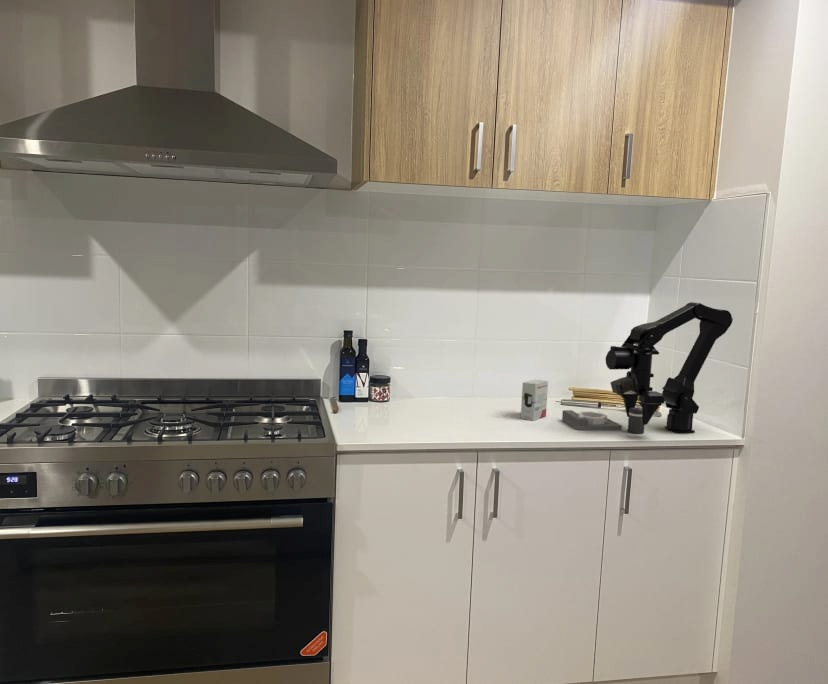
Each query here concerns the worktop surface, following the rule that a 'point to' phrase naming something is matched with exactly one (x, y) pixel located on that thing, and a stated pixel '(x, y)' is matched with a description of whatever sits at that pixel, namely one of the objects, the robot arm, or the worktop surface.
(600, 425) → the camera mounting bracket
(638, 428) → the lens
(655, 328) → the robot arm
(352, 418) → the worktop surface
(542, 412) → the ink box
